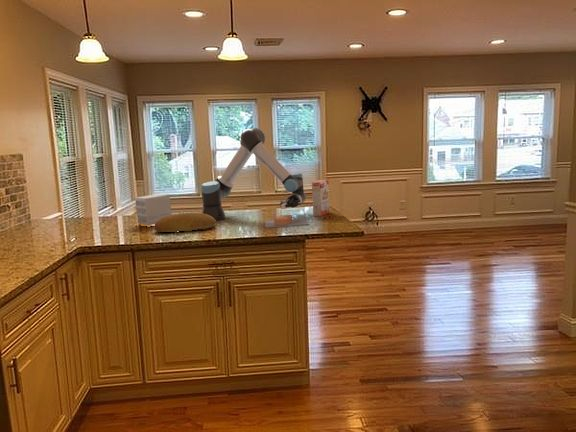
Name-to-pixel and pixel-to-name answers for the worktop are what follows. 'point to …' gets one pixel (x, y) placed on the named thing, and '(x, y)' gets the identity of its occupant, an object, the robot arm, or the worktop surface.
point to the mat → (294, 223)
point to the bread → (184, 222)
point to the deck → (283, 220)
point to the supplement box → (152, 208)
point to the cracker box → (320, 197)
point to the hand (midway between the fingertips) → (282, 207)
